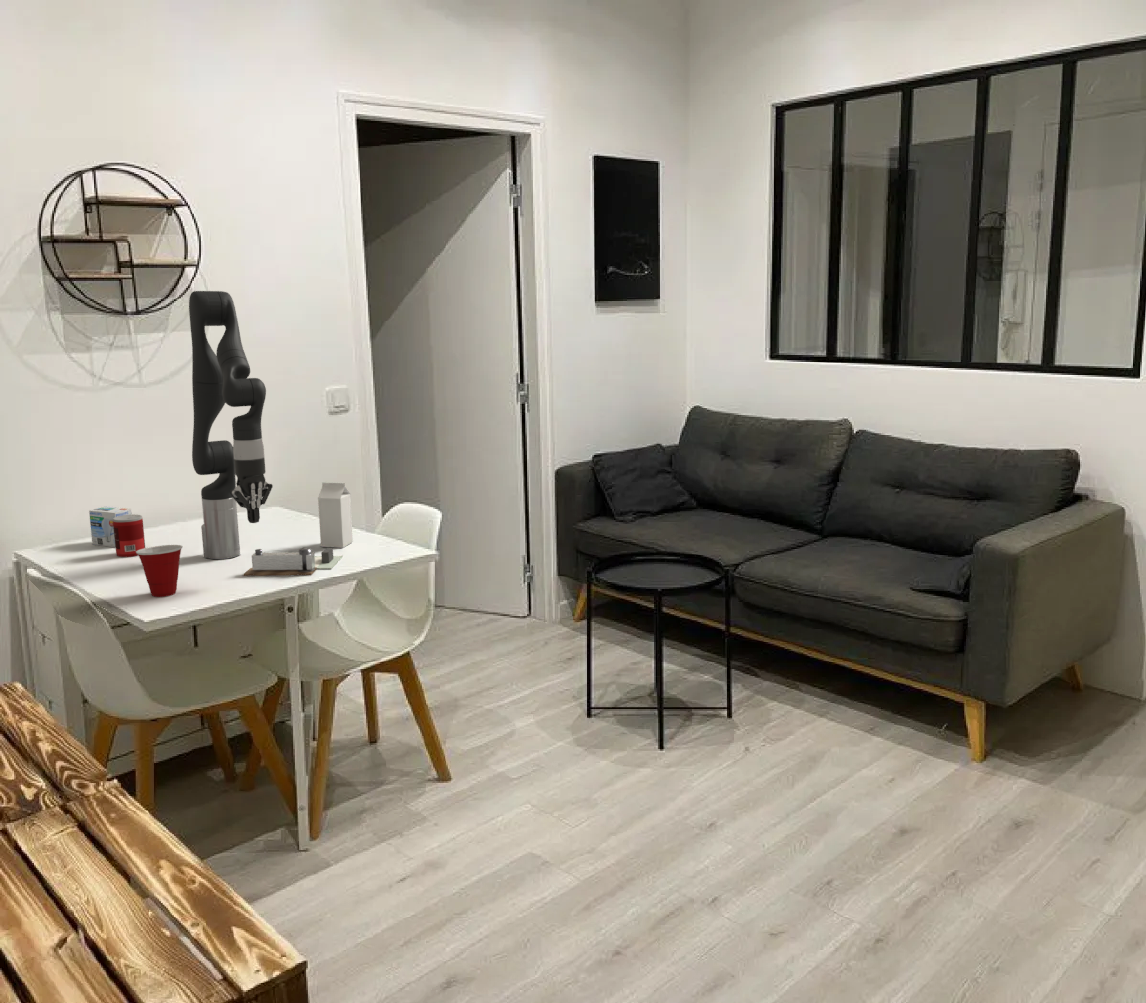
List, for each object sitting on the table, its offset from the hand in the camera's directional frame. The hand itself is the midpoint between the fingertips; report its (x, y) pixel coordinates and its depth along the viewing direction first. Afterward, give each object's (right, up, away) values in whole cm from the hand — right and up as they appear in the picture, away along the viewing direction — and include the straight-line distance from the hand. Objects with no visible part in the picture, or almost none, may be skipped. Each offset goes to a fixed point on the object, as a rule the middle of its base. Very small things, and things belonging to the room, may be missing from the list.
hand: (254, 522), depth 260 cm
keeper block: (+14, -12, +20) cm, 27 cm away
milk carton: (+12, -8, +40) cm, 43 cm away
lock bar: (+5, -13, +9) cm, 16 cm away
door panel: (+6, -12, +19) cm, 23 cm away
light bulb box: (-57, -8, +44) cm, 72 cm away
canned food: (-46, -10, +31) cm, 56 cm away
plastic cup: (-20, -18, -9) cm, 28 cm away
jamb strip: (+4, -14, +10) cm, 17 cm away
